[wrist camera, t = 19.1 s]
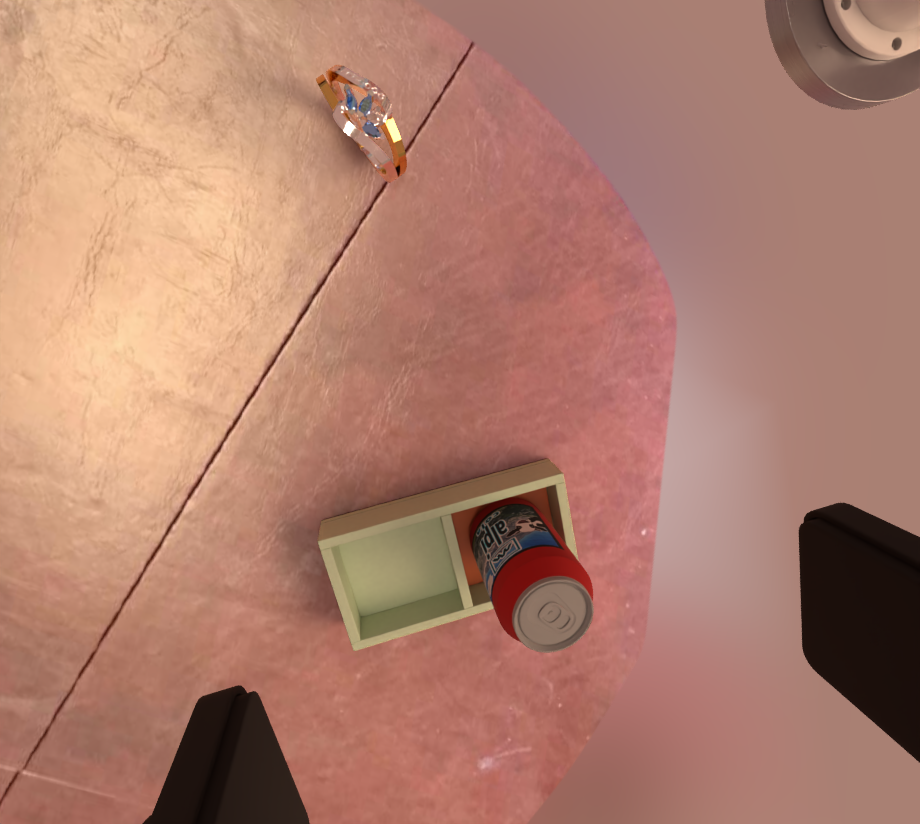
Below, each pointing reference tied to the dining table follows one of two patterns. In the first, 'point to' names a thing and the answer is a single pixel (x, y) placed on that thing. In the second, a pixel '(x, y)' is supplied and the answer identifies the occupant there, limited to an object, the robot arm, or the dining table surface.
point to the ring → (365, 118)
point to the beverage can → (531, 576)
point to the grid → (426, 552)
